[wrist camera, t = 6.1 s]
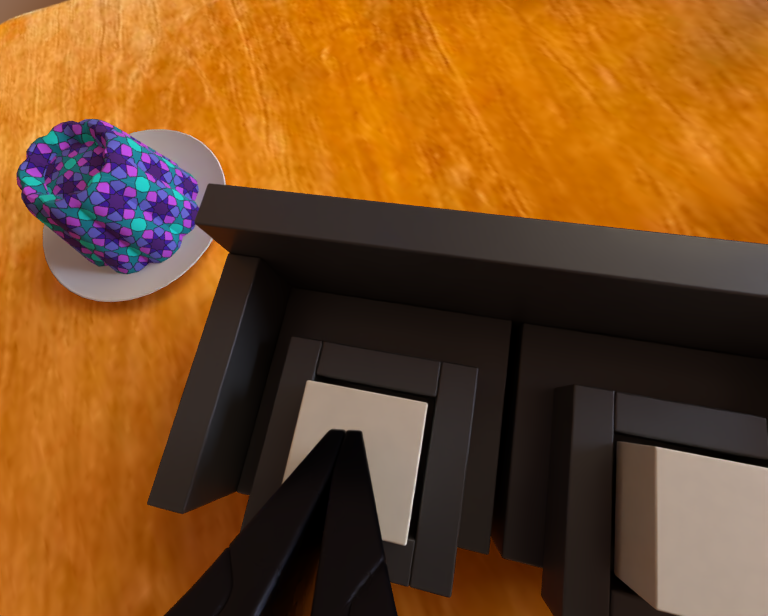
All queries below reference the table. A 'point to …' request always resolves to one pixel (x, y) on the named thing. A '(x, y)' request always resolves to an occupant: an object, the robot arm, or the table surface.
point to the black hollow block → (433, 297)
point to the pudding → (118, 206)
